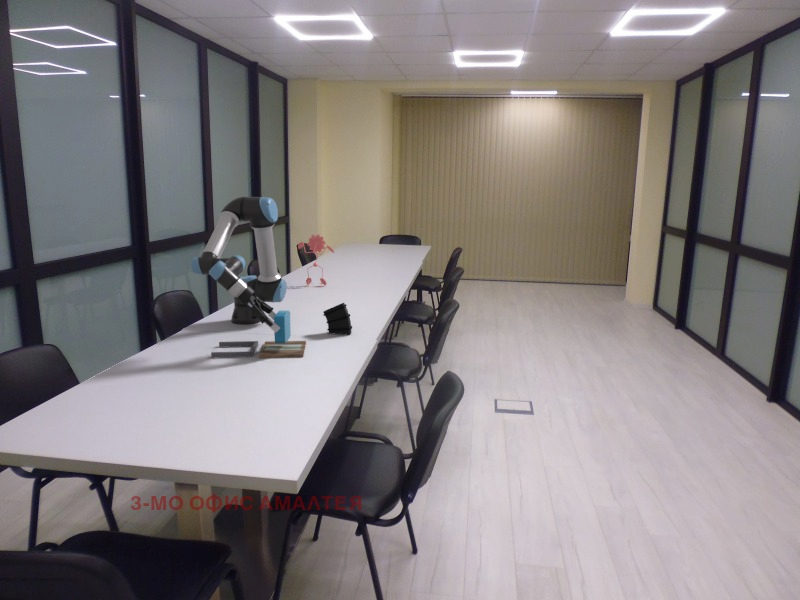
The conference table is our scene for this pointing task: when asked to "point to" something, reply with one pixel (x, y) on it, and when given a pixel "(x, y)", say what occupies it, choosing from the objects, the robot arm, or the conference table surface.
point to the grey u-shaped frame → (236, 354)
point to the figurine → (315, 245)
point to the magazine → (338, 319)
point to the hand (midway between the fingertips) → (280, 326)
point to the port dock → (282, 349)
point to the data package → (282, 326)
